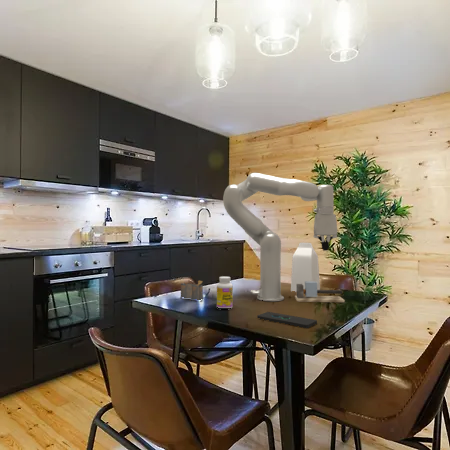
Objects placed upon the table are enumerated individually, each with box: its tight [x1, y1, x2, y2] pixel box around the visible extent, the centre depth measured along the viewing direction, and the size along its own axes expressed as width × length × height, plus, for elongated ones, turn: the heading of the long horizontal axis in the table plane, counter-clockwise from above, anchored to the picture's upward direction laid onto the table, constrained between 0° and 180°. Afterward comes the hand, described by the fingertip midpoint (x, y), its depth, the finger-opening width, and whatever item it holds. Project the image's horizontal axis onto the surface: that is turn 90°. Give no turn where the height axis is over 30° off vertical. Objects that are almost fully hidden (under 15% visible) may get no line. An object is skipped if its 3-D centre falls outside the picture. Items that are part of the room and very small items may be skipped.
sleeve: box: [304, 281, 318, 297], centre depth 158 cm, size 5×4×6 cm
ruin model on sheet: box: [180, 280, 204, 300], centre depth 157 cm, size 11×3×10 cm, turn 54°
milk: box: [290, 242, 321, 293], centre depth 182 cm, size 12×12×26 cm
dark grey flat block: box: [256, 311, 318, 329], centre depth 120 cm, size 8×2×20 cm
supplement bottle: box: [216, 276, 234, 309], centre depth 140 cm, size 7×7×13 cm
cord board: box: [294, 284, 346, 303], centre depth 157 cm, size 21×9×7 cm, turn 85°
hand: (325, 250), depth 157 cm, fingers closed
